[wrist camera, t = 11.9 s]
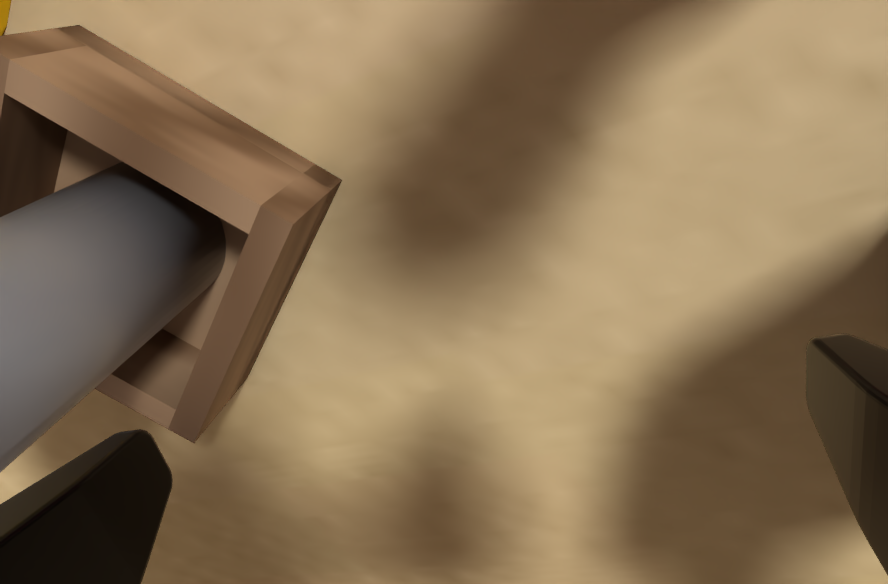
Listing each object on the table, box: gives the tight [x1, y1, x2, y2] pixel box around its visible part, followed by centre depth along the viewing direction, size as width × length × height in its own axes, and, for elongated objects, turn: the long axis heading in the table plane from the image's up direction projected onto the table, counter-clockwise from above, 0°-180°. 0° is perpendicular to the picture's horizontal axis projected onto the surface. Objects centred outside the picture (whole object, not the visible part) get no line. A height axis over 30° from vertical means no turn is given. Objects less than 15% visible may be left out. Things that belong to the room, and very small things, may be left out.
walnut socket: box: [0, 25, 342, 443], centre depth 21 cm, size 10×10×4 cm
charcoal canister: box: [0, 162, 226, 472], centre depth 17 cm, size 5×5×12 cm
